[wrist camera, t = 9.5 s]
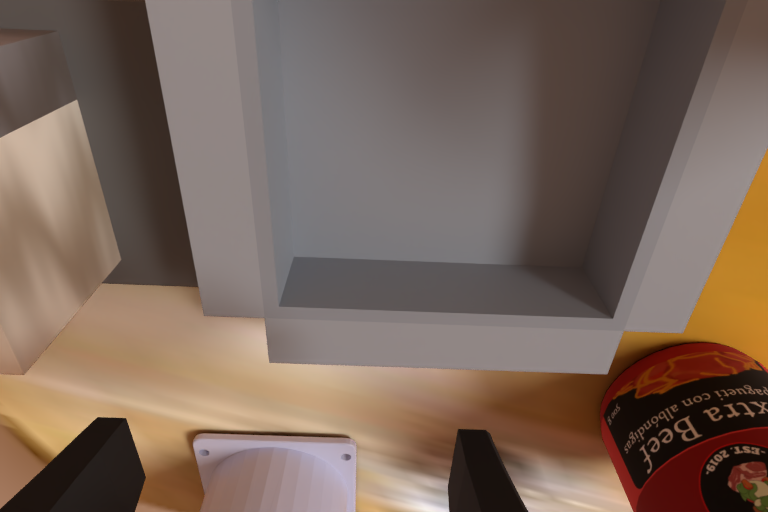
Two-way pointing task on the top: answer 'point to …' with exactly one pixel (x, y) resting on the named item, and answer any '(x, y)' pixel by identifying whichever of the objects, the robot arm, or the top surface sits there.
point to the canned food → (690, 430)
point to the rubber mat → (122, 129)
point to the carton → (460, 170)
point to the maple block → (45, 200)
